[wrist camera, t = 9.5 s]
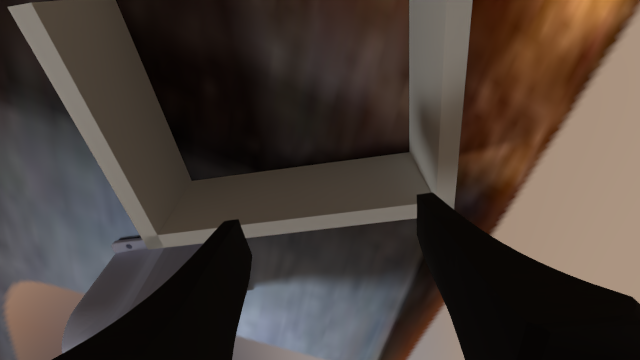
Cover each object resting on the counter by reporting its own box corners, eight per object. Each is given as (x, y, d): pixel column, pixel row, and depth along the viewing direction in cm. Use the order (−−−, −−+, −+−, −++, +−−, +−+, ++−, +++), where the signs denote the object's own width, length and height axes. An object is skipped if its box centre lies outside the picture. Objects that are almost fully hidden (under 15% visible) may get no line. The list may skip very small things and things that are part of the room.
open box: (183, 193, 24) (148, 249, 19) (97, -1, 18) (7, 6, 13) (423, 162, 23) (453, 213, 18) (429, -60, 16) (479, -78, 11)
